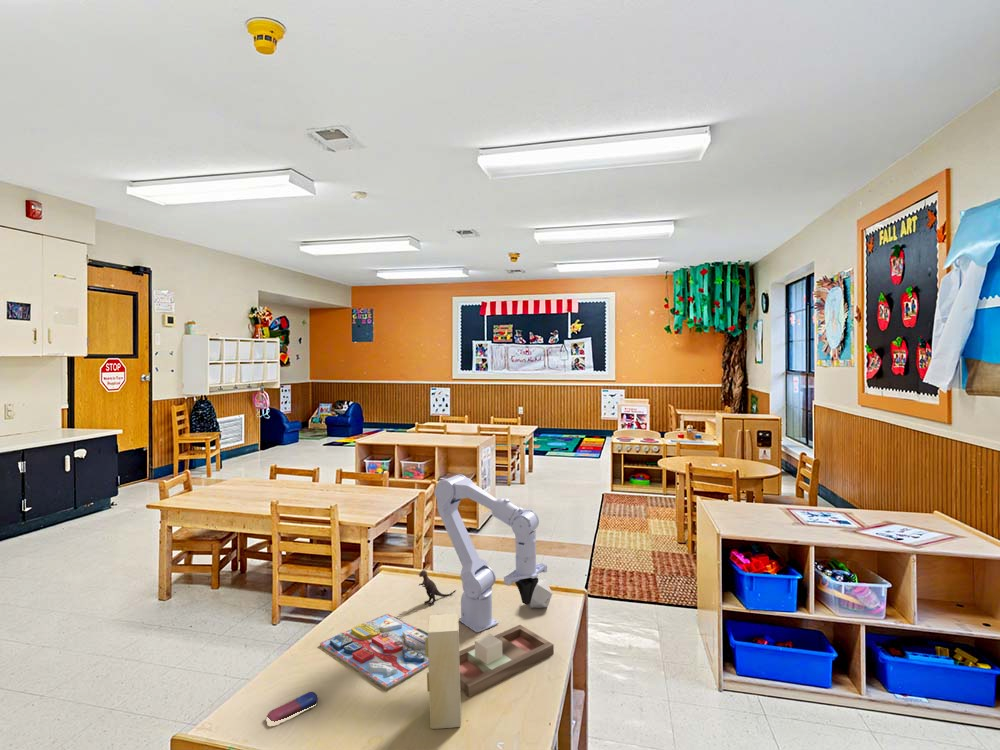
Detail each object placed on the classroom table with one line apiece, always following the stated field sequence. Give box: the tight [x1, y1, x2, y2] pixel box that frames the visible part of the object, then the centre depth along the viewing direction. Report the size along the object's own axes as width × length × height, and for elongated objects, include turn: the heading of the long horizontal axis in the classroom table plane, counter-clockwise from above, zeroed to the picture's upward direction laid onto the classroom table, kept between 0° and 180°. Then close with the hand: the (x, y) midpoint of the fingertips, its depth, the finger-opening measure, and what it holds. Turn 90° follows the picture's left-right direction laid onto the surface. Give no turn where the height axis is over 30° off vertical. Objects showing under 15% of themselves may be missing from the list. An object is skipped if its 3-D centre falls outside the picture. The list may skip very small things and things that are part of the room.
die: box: [529, 578, 553, 609], centre depth 167 cm, size 8×9×10 cm
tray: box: [459, 624, 555, 698], centre depth 136 cm, size 14×28×2 cm, turn 129°
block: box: [474, 633, 502, 664], centre depth 135 cm, size 5×5×4 cm
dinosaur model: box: [418, 569, 457, 607], centre depth 171 cm, size 4×11×14 cm
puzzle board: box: [319, 613, 429, 691], centre depth 144 cm, size 30×23×3 cm
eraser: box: [266, 691, 319, 722], centre depth 118 cm, size 11×4×2 cm, turn 133°
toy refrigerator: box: [425, 613, 462, 730], centre depth 116 cm, size 8×7×21 cm
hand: (526, 603), depth 149 cm, fingers closed
